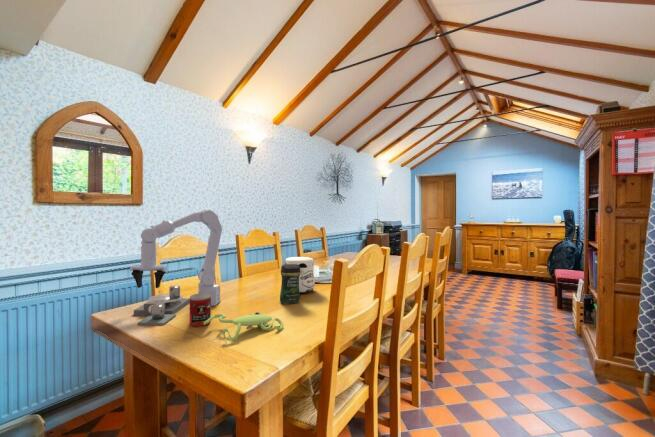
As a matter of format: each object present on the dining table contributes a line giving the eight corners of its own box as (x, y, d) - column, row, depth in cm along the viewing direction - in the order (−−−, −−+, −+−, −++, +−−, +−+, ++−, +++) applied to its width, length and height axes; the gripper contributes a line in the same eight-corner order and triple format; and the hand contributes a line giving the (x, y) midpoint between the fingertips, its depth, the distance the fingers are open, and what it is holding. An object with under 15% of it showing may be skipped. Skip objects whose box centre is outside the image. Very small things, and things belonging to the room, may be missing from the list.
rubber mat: (176, 316, 130) (176, 314, 130) (163, 325, 120) (163, 323, 120) (151, 315, 130) (151, 314, 130) (137, 324, 120) (137, 322, 120)
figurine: (200, 330, 117) (200, 315, 117) (265, 316, 133) (266, 303, 133) (217, 348, 102) (217, 331, 102) (288, 329, 119) (288, 315, 118)
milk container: (313, 296, 164) (314, 261, 164) (280, 295, 165) (281, 261, 164) (315, 287, 182) (316, 256, 181) (285, 287, 182) (286, 256, 181)
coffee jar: (281, 305, 148) (282, 266, 147) (278, 300, 155) (278, 263, 154) (301, 303, 151) (302, 265, 150) (297, 299, 158) (297, 262, 158)
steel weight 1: (165, 315, 128) (165, 303, 128) (163, 319, 124) (163, 306, 124) (153, 316, 127) (153, 304, 127) (150, 320, 123) (150, 307, 123)
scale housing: (190, 302, 149) (190, 292, 149) (172, 315, 131) (172, 304, 131) (156, 302, 149) (156, 292, 149) (133, 315, 130) (133, 304, 130)
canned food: (190, 328, 117) (190, 299, 117) (188, 321, 124) (188, 294, 124) (211, 325, 121) (212, 297, 120) (209, 319, 128) (209, 292, 127)
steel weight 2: (181, 296, 143) (181, 285, 143) (177, 299, 139) (177, 288, 139) (172, 296, 143) (172, 285, 143) (167, 299, 139) (167, 287, 139)
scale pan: (187, 294, 148) (187, 293, 148) (173, 303, 134) (173, 302, 134) (157, 294, 148) (157, 293, 148) (140, 303, 134) (140, 302, 134)
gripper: (125, 257, 131) (125, 289, 131) (161, 257, 132) (161, 290, 132) (135, 254, 138) (135, 285, 139) (169, 255, 139) (168, 285, 139)
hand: (148, 287), depth 136 cm, fingers open, 7 cm apart
